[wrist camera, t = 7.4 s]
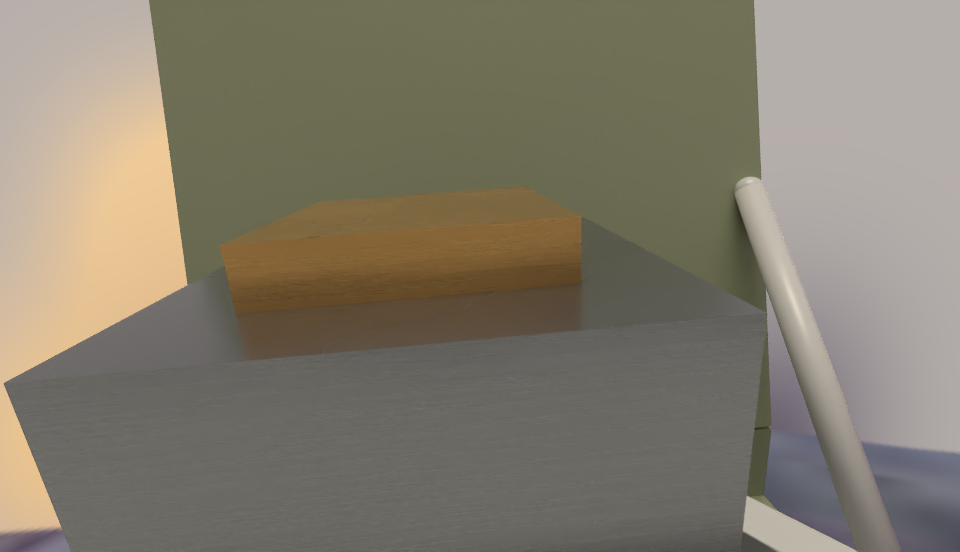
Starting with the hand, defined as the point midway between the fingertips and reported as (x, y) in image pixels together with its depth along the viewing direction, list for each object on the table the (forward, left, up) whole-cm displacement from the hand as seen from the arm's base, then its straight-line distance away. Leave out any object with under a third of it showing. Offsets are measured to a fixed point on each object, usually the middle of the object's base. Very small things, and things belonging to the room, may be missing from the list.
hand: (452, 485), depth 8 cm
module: (0, -1, -6) cm, 7 cm away
